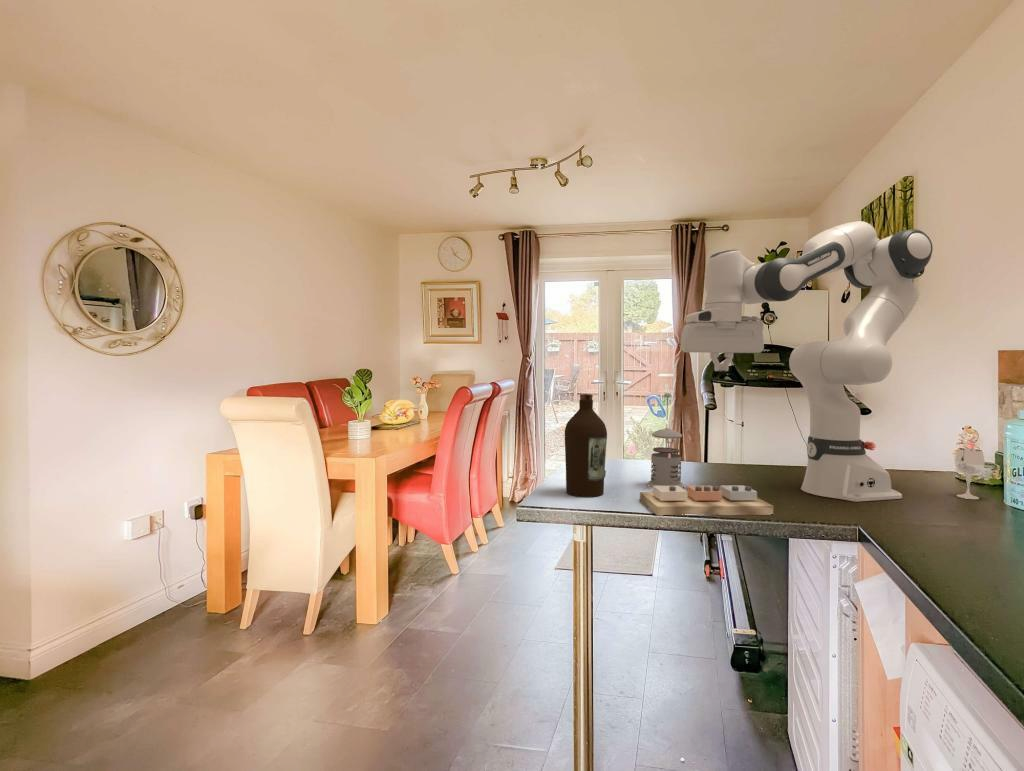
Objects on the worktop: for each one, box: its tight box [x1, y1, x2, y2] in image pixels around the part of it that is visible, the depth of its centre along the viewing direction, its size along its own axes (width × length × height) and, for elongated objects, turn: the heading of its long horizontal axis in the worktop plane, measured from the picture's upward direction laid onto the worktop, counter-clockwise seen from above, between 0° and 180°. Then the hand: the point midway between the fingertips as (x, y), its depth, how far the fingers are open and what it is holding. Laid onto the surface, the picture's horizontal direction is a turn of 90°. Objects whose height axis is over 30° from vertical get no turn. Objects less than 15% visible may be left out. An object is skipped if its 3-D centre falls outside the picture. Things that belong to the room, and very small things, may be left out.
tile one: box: [652, 486, 687, 501], centre depth 127 cm, size 6×6×3 cm
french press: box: [647, 392, 685, 489], centre depth 150 cm, size 10×12×25 cm
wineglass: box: [954, 447, 986, 500], centre depth 139 cm, size 6×6×12 cm
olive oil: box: [564, 393, 608, 498], centre depth 140 cm, size 11×11×25 cm
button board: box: [639, 491, 774, 517], centre depth 128 cm, size 26×13×2 cm, turn 93°
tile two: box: [719, 484, 758, 500], centre depth 128 cm, size 6×6×3 cm
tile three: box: [685, 485, 722, 501], centre depth 128 cm, size 6×6×3 cm
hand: (721, 371), depth 140 cm, fingers closed
